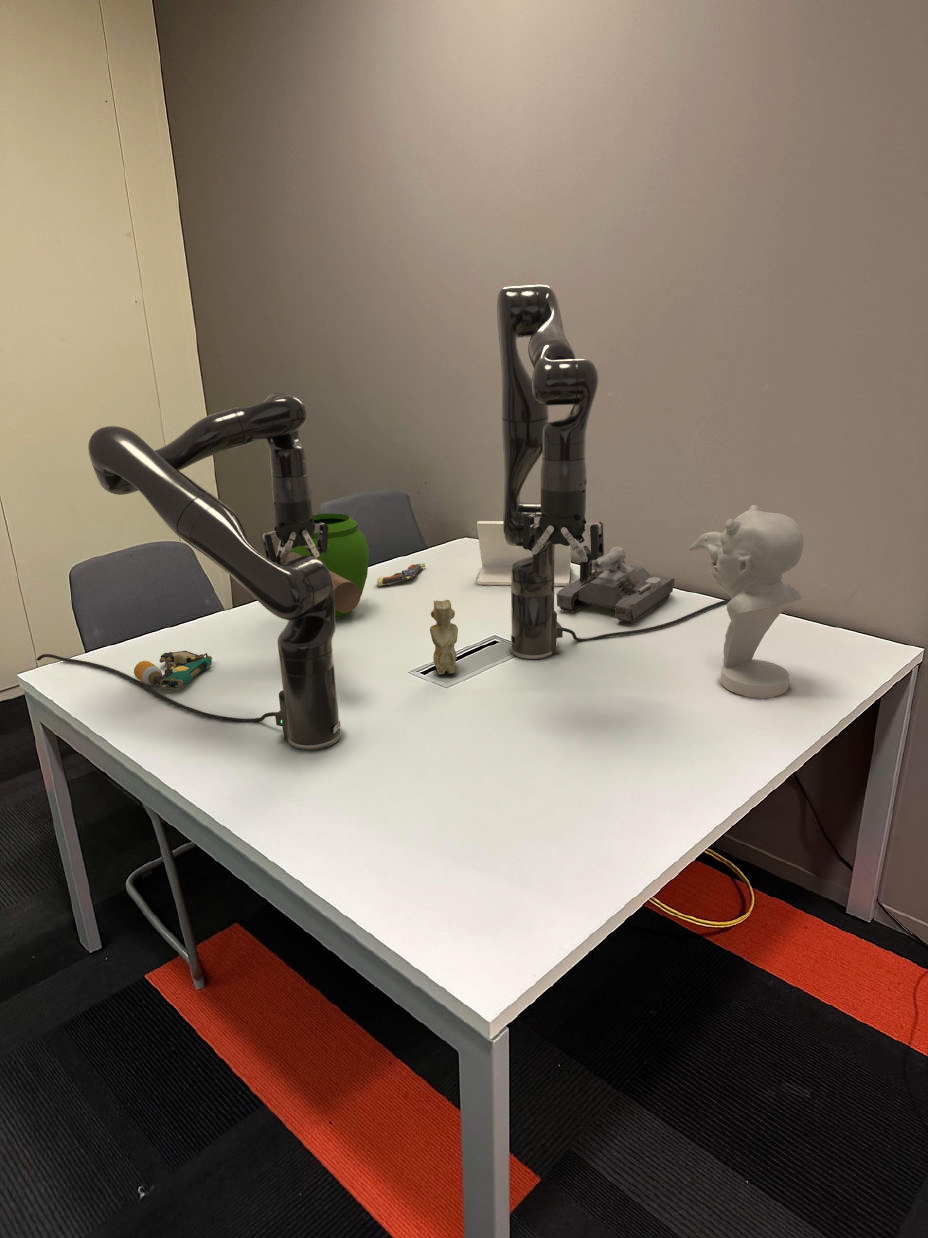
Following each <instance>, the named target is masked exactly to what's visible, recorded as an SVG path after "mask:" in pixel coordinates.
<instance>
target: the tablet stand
mask: <svg viewBox="0 0 928 1238" xmlns="http://www.w3.org/2000/svg"><path fill="white" fill-rule="evenodd" d="M476 531H477V537H478V544H479V551H480V557H481V558H480V559H481V570H480V573H479V575H478V577H477V580H476V581H477V582H476V584H478V585H484V586H485V585H486V586H487V585H489V586H490V585H491V586H511V567H512V565H513V563H515V562H516V561H518V560H521V559H524V558H527V557H530V556H532V555H533V553H532V552H531V551H530V550H528V549H527V550H525V549H524V548H523V547H519V546H510V545H508V544H507V543H506V541H505V537H504V530H503V520H477V522H476ZM571 560H572V558H571V545H569V546H564V545H561V544H555V555H554V587H556V586H557V587H566V586H567V585H569V584H570V580H571V579H570V578H571V565H572V564H571Z"/></svg>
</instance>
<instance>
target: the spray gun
mask: <svg viewBox="0 0 928 1238" xmlns="http://www.w3.org/2000/svg"><path fill="white" fill-rule="evenodd" d="M212 660H213V657H212V656H211V655H208V653H207V652H205V653H201V654H197V653H194V652H192V651H191V652H190V651H188V650H180V651H169V652H164V653H162V654H161V655H160V658H159V660H158V662H159V663H161V664H163V663H165V664H166V668H165V670H163V672H164V674H163V673H162V669H160V668H159V666H157V665H156V664H154V663H152V662H151V661H149V660H141V661H139V662H138V663H136V665H135V666H134V668H133V675H134V677H135V679H136V680H138V681H140V682H141V683H143V684H145V685H146V686H155V685H157V686H158V687H160V688H161V689H171V690H172V689H173V690H182V689H184V687H185V686H186V685H188V684H189V683H190V682H191V681H192V679H193V678H195V677H196V676H197V675H198V674H200V673H201V672H202V671H203V670H206V669H208V668H209V667H210V666H211V665H212V662H213V661H212ZM178 663H179V664H181V665H179V666H176V665H177V664H178Z"/></svg>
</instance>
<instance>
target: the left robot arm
mask: <svg viewBox="0 0 928 1238" xmlns="http://www.w3.org/2000/svg"><path fill="white" fill-rule="evenodd" d="M307 415H308V412H307V408H306V406H305V405H304V402H302V400H300V399H299V398H298V397H296V396H293V395H290V394H288V393H284V392H274V393H271V394H269V395H268V396H267V397H266V398H265V399H264V400H263V402H261V403H258V404H254V405H250V406H249V405H248V406H246V405H243V406H235V407H232V408H229V409H225V410H222V411H218V412H215V413H211V414H208V415H207V416H205V417H202V418H201V419H199V420H197V421H196V422H195V423H194V424H192V425H191V426H190V427H188V428H187V429H186V430H185V431H184V432H182V433H181V434H180V435H179V436H177V437H176V438H175V439H174V440H172V441H170V442H168V443H167V444H166V445H163V446H162V447H160V448H157V449H154V448H152V447H151V446H150V445H149V444H148V443H147V442H146V441H145V440H144V439H143V438H142V437H141V436H139V435H138V434H137V433H135V431H132V430H130V429H128V428H126V427H123V426H117V425H107V426H103V427H99V428H98V429H96V430H95V431H94V432H93V433H92V434H91V435H90V437H89V440H88V444H87V448H88V449H87V450H88V457H89V459H90V460H89V461H90V462H91V466H92V468H93V471H94V474H95V476H96V479H97V481H98V483H99V485H100V486H101V488H103V490H104V491H106V492H108V493H110V494H113V495H119V496H121V495H122V496H123V495H129V494H132V493H137V492H138V491H139V493H140V494H141V495H142V496H143V497H144V498H145V499H146V501H147V502H148V504H149V505H150V506H151V507H152V509H153V510H154V511H155V513H157V515H158V516H159V517H160V518H161V520H162V521H163V522H164V524H166V525H167V526H168V528H169V529H170V530H171V531H173V532H174V533H175V535H177V536H178V537H179V538H180V539H182V540H183V541H184V542H186V543H187V544H189V545H190V546H191V547H192V548H193V549H195V550H197V551H198V552H199V553H201V554H202V555H204V556H205V557H206V558H208V559H209V560H210V561H212V562H213V564H215V565H217V567H219V568H220V569H222V570H223V571H224V572H225V573H227V574H228V575H229V576H230V577H231V578H232V579H234V580H235V581H236V582H237V583H238V584H239V585H240V586H241V587H242V588H244V589H245V591H247V592H248V593H249V595H251V596H252V597H253V598H254V600H256V601H257V602H258V603H259V604H260V605H261V606H262V607H264V608H265V609H266V610H268V612H270V613H271V614H272V615H274V616H276V618H279V619H282V620H285V621H288V622H287V623H286V625H285V627H284V628H283V629H282V631H281V632H280V634H279V635H278V637H277V652H278V659H279V668H280V677H281V686H282V689H281V690H280V691H279V692H278V701H279V711H271V712H266V713H264V714H262V715H261V716H260V717H255V718H242V717H241V718H240V717H231V716H225V715H218V714H213V713H208V712H205V711H201V710H198V709H196V708H193V707H190V706H188V705H184V704H182V703H180V702H178V701H175V700H173V699H171V698H169V697H168V696H165V695H163V694H161V693H160V692H159V691H158V690H157V691H156V690H155V689H153V688H152V687H150V686H149V685H147V684H145V683H143V682H142V681H140V680H139V679H137V678H134V677H132V676H131V675H128V674H126V673H124V672H122V671H120V670H118V669H114V668H112V667H109V666H106V665H103V664H99V663H95V662H91V661H86V660H81V659H74V658H68V657H63V656H59V655H55V654H51V653H43V654H41V655H39V656H38V657H37V658H36V661H41V660H43V658H51V659H55V660H57V661H61V662H67V663H73V664H74V663H75V664H80V665H85V666H89V667H94V668H98V669H102V670H105V671H107V672H108V671H109V672H111V673H114V674H116V675H119V676H120V677H123V678H125V679H127V680H129V681H131V682H133V683H135V684H136V685H138V686H139V687H141V688H143V689H145V690H146V691H148V692H150V693H151V694H153V695H154V696H156V697H157V698H160V699H161V700H164V701H165V702H168V703H170V704H171V705H173V706H175V707H177V708H179V709H183V710H185V711H188V712H191V713H193V714H196V715H199V716H202V717H206V718H210V719H214V720H219V721H221V720H222V721H228V722H234V723H260V722H263V721H264V720H265V719H266V718H268V717H274V718H275V725H276V726H278V727H282V736H283V737H282V738H283V741H284V742H287V743H288V744H289V745H290V746H291V747H293V748H295V749H297V750H301V751H302V750H303V751H317V750H322V749H325V748H329V747H331V746H333V745H335V744H336V743H337V742H338V741H340V739H341V737H342V736H341V735H342V732H341V728H340V727H341V725H342V724H341V720H340V717H339V704H338V693H337V692H338V691H337V684H336V683H337V682H336V671H335V661H334V660H335V659H334V649H333V638H334V635H335V632H336V619H335V599H334V586H333V581H332V578H331V575H330V572H329V570H328V569H327V567H326V566H325V564H324V563H323V562H322V561H320V560H319V556H320V554H322V553H326V552H327V544H328V525H326V524H324V523H322V522H320V523H319V524H314V522H313V515H314V514H313V505H312V490H311V483H310V479H309V473H308V462H307V454H306V449H305V447H304V445H303V444H302V443H301V440H300V433H299V430H300V429H301V428H303V426H304V425H305V423H306V422H307V421H306V420H307V417H308V416H307ZM262 440H266V443H267V447H268V451H269V463H270V473H271V494H272V495H271V497H272V504H273V515H274V522H275V526H274V529H273V530H272V531H269V532H266V531H263V532H261V534H260V538H261V542H262V545H263V550H264V552H265V555H264V554H262V553H261V552H260V551H258V550H257V549H256V548H255V547H254V546H253V545H252V544H251V542H250V541H249V538H248V536H247V533H246V531H245V527H244V524H243V523H242V520H241V519H240V517H239V516H238V514H237V513H236V512H235V511H234V510H233V509H232V508H231V507H230V506H229V505H227V504H226V503H225V502H223V501H221V500H220V499H219V498H217V496H215V495H214V494H212V493H211V492H209V491H207V490H206V489H204V488H203V487H202V486H200V484H197V483H196V482H195V481H193V479H191V478H189V477H188V476H187V475H186V474H185V473H183V472H181V470H184V469H185V468H187V467H189V466H192V465H194V464H196V463H198V462H200V461H203V460H204V459H207V458H210V457H212V456H215V455H218V454H220V453H224V452H226V451H230V450H234V449H236V448H240V447H243V446H245V445H248V444H250V443H254V442H257V441H262ZM314 530H316V533H318V535H317V547H315V544H314V542H313V541H312V539H311V536H312V534H313V532H314ZM276 538H278V540H279V542H278V546H277V552H276V549H275V546H274V542H275V541H276ZM297 546H305V547H306V548H307V550H308V552H309V553H310V555H311V556H303V557H299V558H297V559H294V560H292V561H290V562H287V563H285V562H286V559H287V556H288V554H289V553H290V550H291V548H295V547H297Z"/></svg>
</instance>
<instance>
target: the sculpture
mask: <svg viewBox="0 0 928 1238" xmlns="http://www.w3.org/2000/svg"><path fill="white" fill-rule="evenodd" d="M455 615H456V611H455V609H453V608H452V602H451V601H450V599H445V600H433V610H431V612H430V617H431V618H432V619H433V620H434V621H435V622H436V623H435V624H433V625H431V626H429V633H430V636H431V640H432V641H431V642H432V643H433V645H434V648H435V649H434V652H433V656H432V657H433V659H432V660H433V665H434V667H435V668H436V671H437V674H438V675H445V674H446V672H447V673H448V674H455V673H456V666H457V665H456V663H457V652H456V649H455V644H456V643H457V642H458V637H459V635H458V634H459V627H458V626H457V624H455V623H453V622H451V621H452V620H453V619H454V618H455Z"/></svg>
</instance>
